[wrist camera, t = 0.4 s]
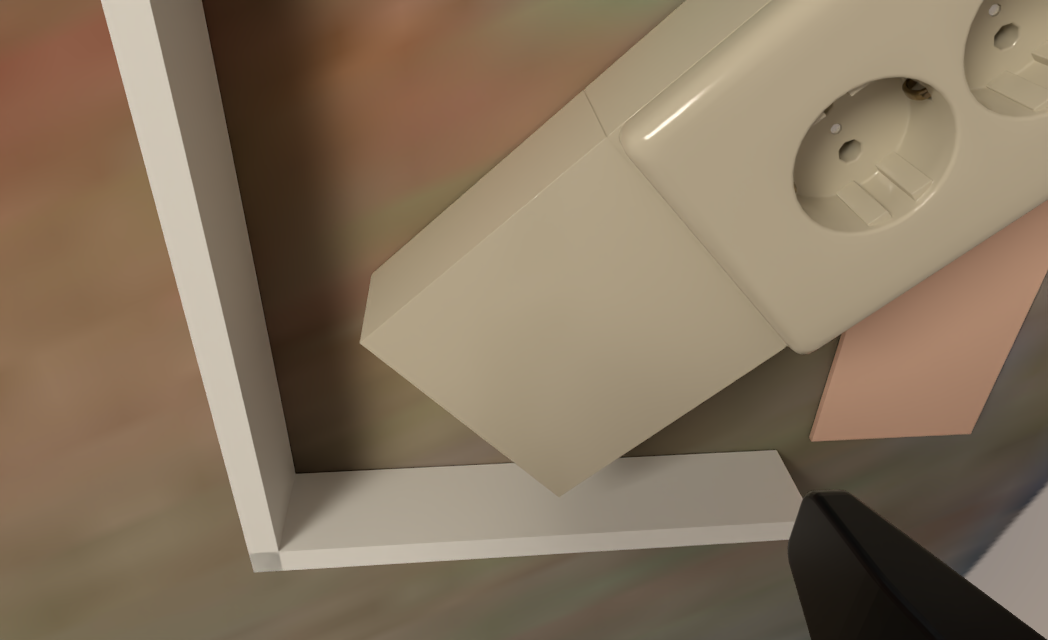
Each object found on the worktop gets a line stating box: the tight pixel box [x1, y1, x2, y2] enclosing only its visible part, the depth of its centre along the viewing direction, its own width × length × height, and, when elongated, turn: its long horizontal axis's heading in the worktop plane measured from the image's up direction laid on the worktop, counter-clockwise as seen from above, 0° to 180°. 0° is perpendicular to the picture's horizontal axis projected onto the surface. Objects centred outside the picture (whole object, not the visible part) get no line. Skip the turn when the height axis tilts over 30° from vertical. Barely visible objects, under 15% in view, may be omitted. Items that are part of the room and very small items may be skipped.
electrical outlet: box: [360, 0, 1048, 497], centre depth 17 cm, size 7×4×18 cm
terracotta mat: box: [809, 200, 1048, 441], centre depth 19 cm, size 20×6×1 cm, turn 179°
